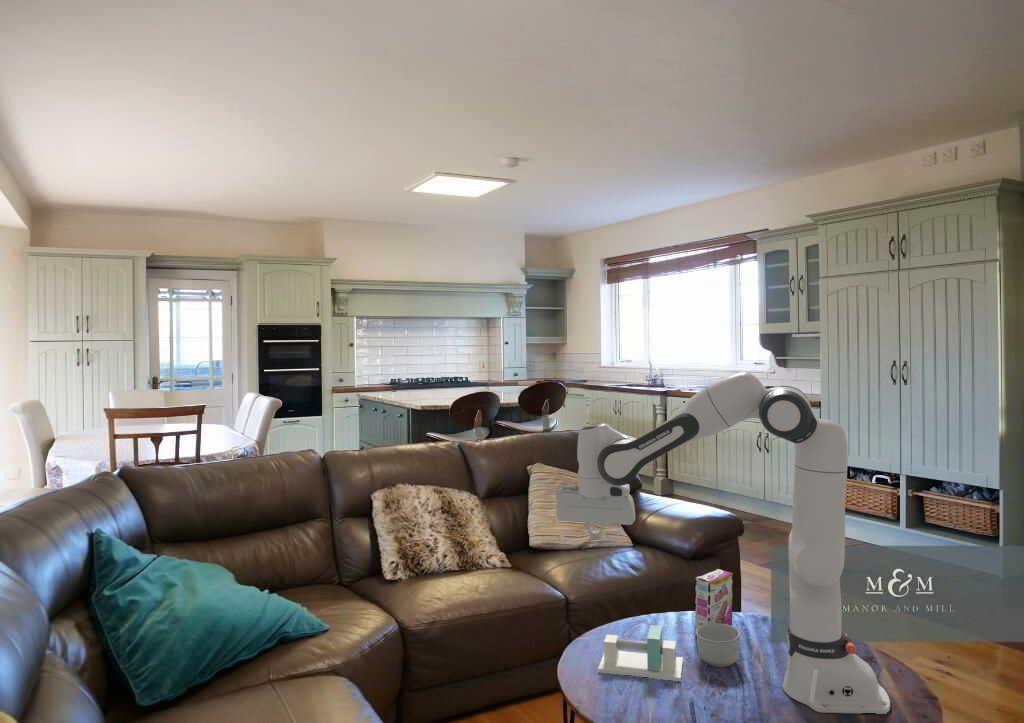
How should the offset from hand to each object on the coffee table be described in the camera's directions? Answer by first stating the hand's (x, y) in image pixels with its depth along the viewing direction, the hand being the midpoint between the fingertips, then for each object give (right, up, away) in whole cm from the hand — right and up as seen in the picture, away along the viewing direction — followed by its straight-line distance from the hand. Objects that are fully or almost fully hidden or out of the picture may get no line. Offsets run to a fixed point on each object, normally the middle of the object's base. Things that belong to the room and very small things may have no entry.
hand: (595, 539), depth 187 cm
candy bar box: (+35, -30, +15) cm, 48 cm away
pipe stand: (+11, -31, -4) cm, 33 cm away
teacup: (+31, -31, -1) cm, 44 cm away
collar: (+14, -30, -6) cm, 33 cm away
